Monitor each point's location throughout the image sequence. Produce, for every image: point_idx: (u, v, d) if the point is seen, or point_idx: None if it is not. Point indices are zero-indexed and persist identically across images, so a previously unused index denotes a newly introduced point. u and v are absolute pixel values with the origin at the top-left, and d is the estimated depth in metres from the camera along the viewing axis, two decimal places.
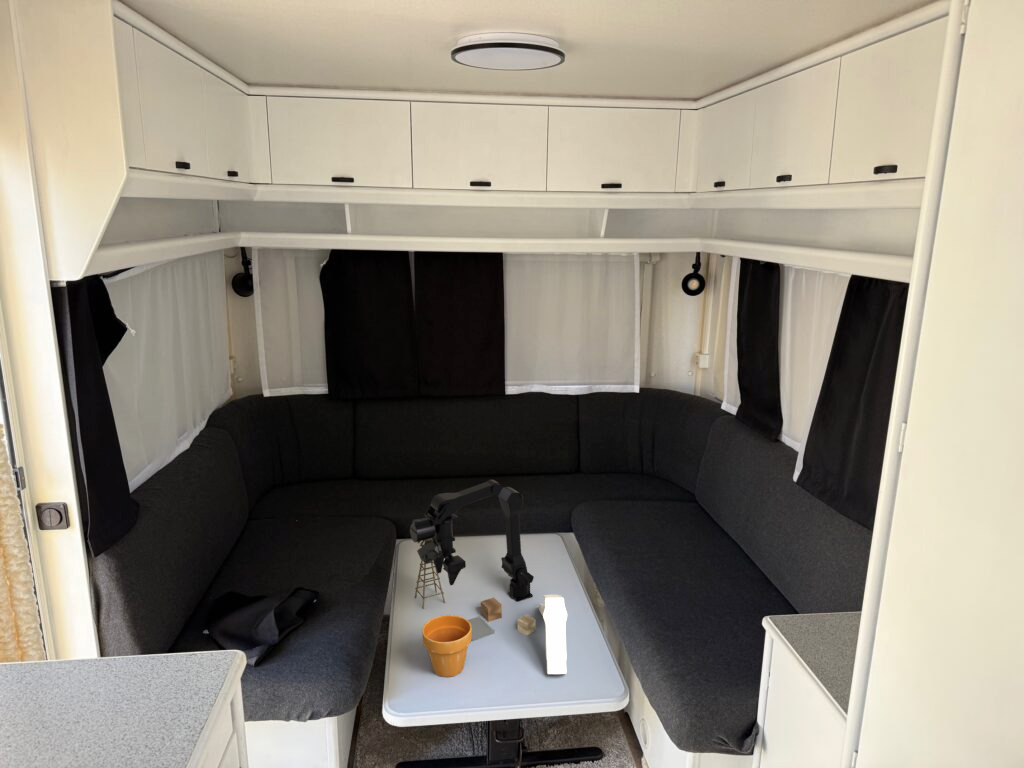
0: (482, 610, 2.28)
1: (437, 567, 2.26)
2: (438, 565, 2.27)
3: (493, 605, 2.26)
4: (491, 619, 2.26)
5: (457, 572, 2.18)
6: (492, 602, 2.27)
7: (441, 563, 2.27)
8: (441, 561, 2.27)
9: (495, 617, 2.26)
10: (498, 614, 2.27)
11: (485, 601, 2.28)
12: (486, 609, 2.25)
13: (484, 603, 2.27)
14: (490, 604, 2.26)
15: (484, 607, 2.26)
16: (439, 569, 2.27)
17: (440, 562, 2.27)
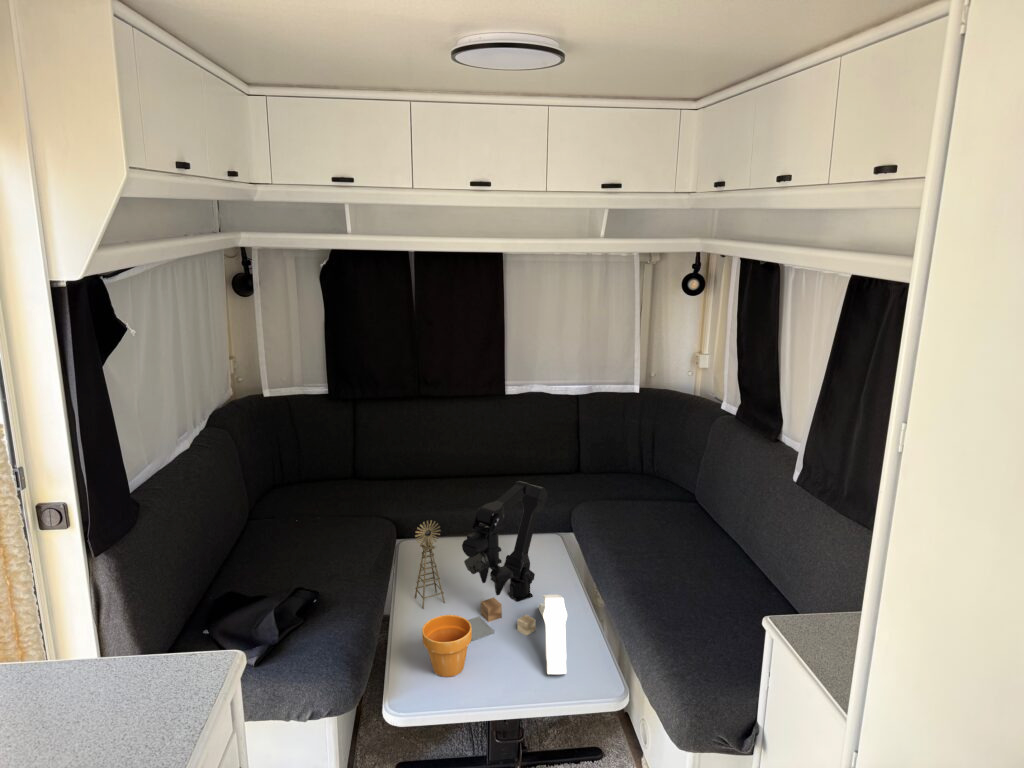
0: (482, 610, 2.28)
1: (482, 577, 2.29)
2: (483, 575, 2.30)
3: (493, 605, 2.26)
4: (491, 619, 2.26)
5: (504, 582, 2.21)
6: (492, 602, 2.27)
7: (486, 573, 2.30)
8: (486, 571, 2.30)
9: (495, 617, 2.26)
10: (498, 614, 2.27)
11: (485, 601, 2.28)
12: (486, 609, 2.25)
13: (484, 603, 2.27)
14: (490, 604, 2.26)
15: (484, 607, 2.26)
16: (484, 579, 2.30)
17: (485, 572, 2.30)
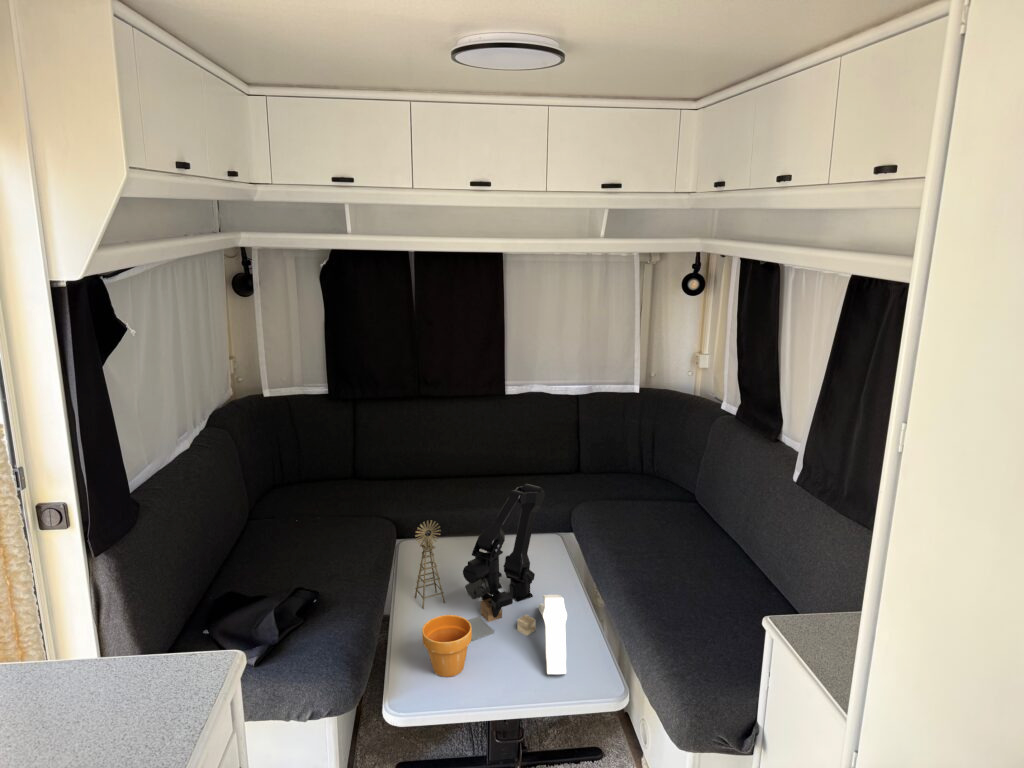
0: (482, 610, 2.28)
1: None
2: None
3: None
4: (491, 618, 2.25)
5: None
6: None
7: None
8: None
9: (495, 617, 2.26)
10: (498, 614, 2.27)
11: (485, 601, 2.28)
12: (486, 609, 2.25)
13: (484, 603, 2.27)
14: (490, 604, 2.26)
15: (484, 607, 2.26)
16: None
17: None
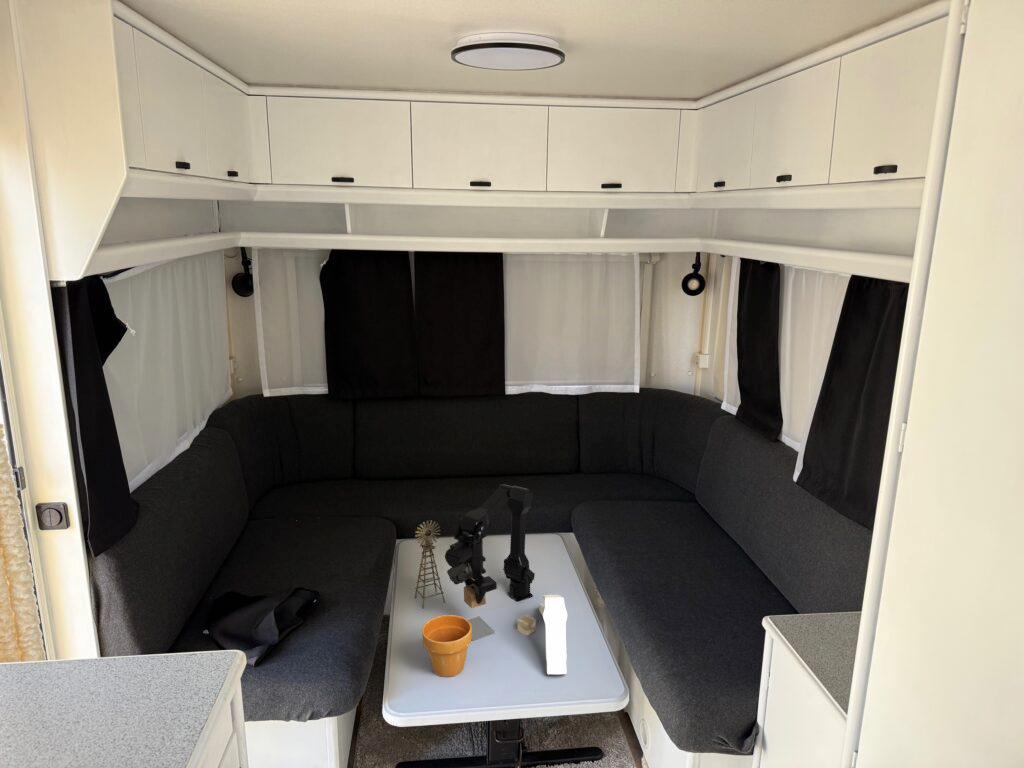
0: (465, 596, 2.18)
1: None
2: None
3: None
4: (474, 605, 2.16)
5: None
6: None
7: None
8: None
9: None
10: (482, 600, 2.17)
11: (468, 586, 2.19)
12: (469, 594, 2.16)
13: (467, 588, 2.18)
14: None
15: (467, 592, 2.17)
16: None
17: None
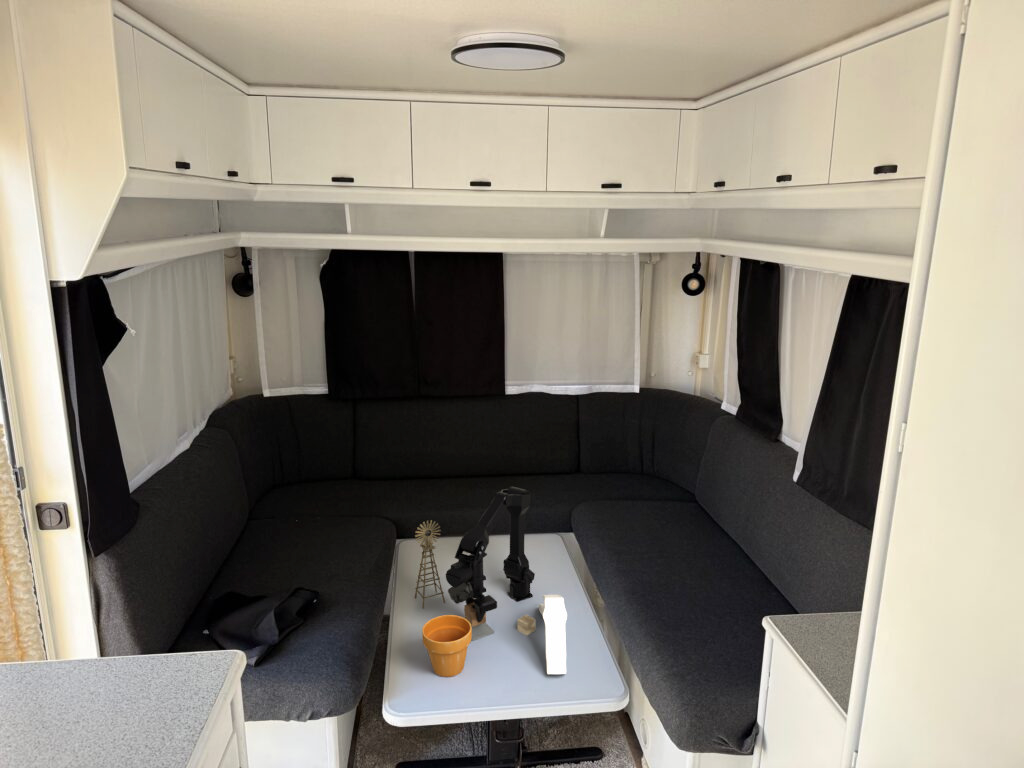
0: (466, 614, 2.20)
1: None
2: None
3: None
4: (475, 623, 2.17)
5: None
6: None
7: None
8: None
9: None
10: (482, 619, 2.19)
11: (469, 605, 2.20)
12: (470, 613, 2.17)
13: (467, 607, 2.19)
14: None
15: (468, 611, 2.18)
16: None
17: None
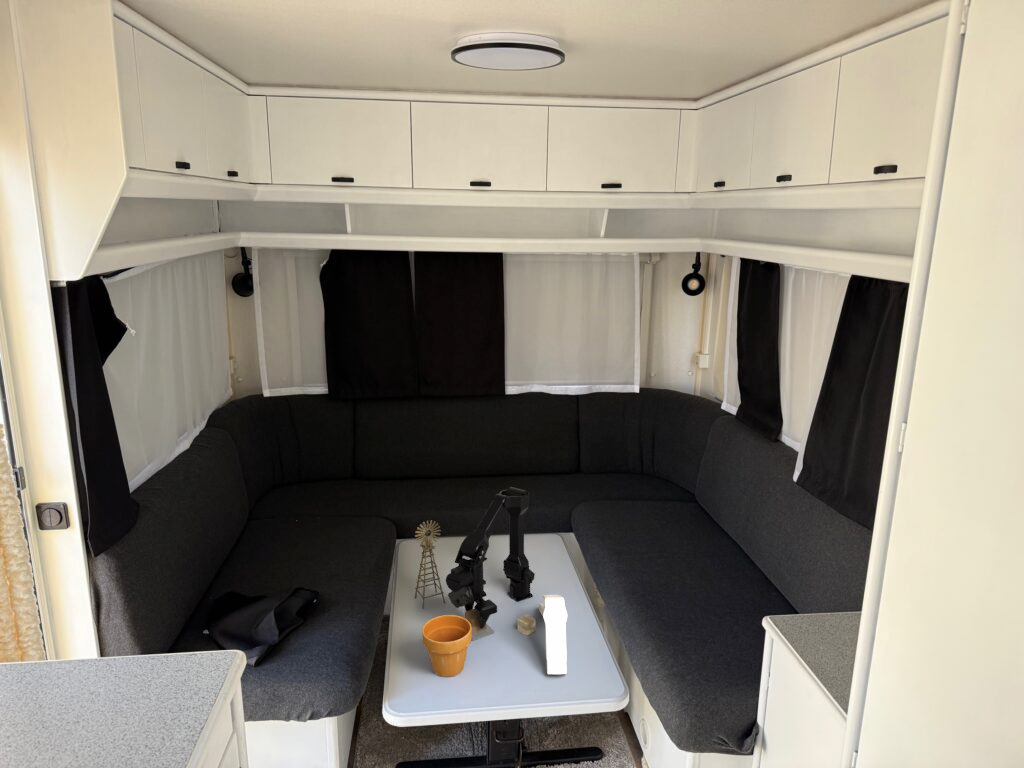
0: None
1: None
2: (468, 608, 2.23)
3: None
4: (475, 630, 2.18)
5: (487, 616, 2.16)
6: None
7: (471, 606, 2.24)
8: (471, 604, 2.24)
9: (479, 628, 2.19)
10: None
11: (469, 611, 2.21)
12: (470, 620, 2.18)
13: (468, 613, 2.19)
14: (474, 615, 2.19)
15: (468, 617, 2.19)
16: None
17: (470, 605, 2.24)
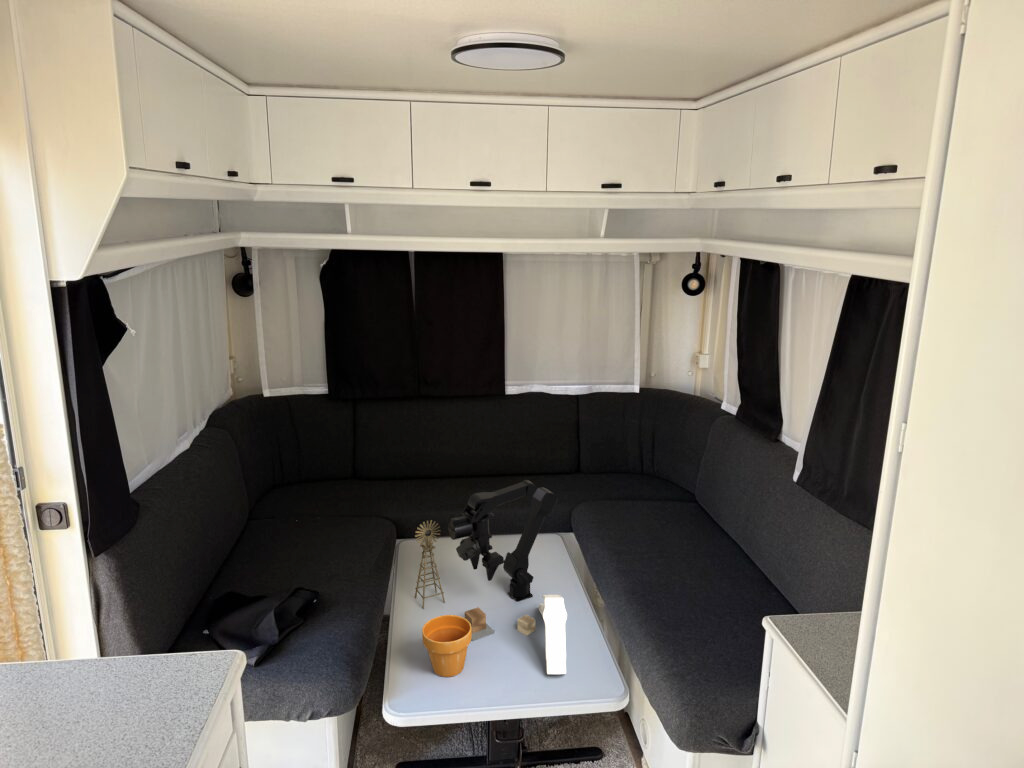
0: None
1: (473, 564, 2.34)
2: (474, 562, 2.35)
3: (477, 615, 2.18)
4: (475, 630, 2.18)
5: (495, 568, 2.26)
6: (476, 612, 2.20)
7: (477, 560, 2.35)
8: (477, 558, 2.35)
9: (479, 628, 2.19)
10: (482, 625, 2.19)
11: (469, 611, 2.21)
12: (470, 620, 2.18)
13: (468, 613, 2.19)
14: (474, 615, 2.19)
15: (468, 617, 2.19)
16: (475, 566, 2.35)
17: (476, 559, 2.35)
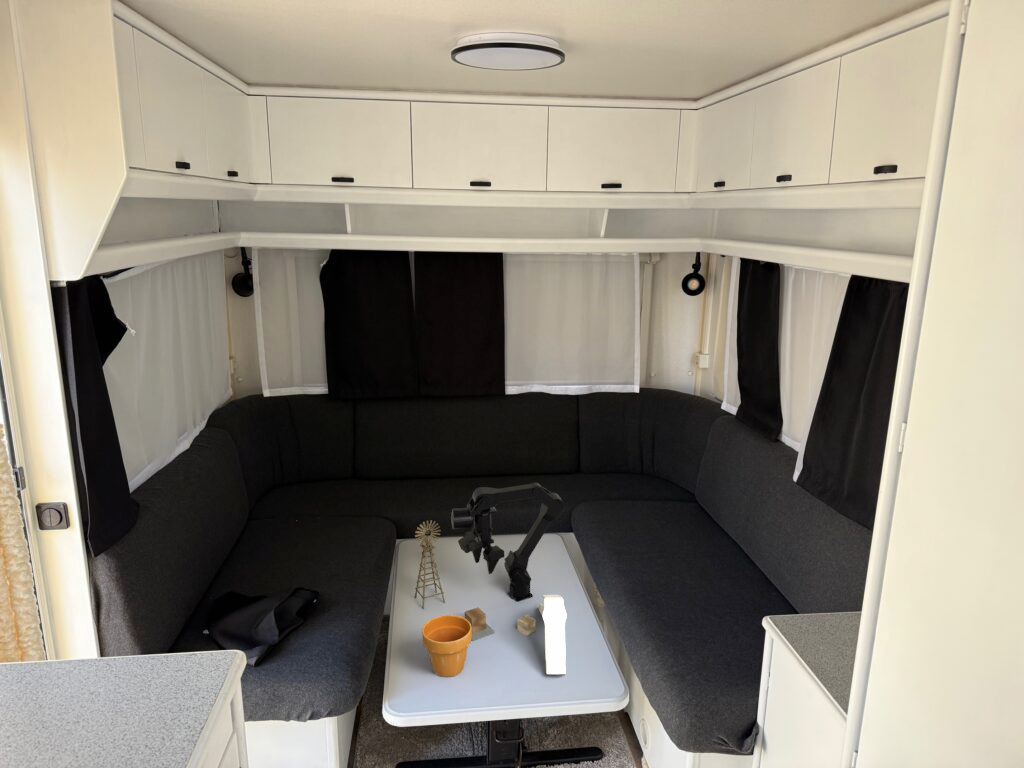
0: None
1: (475, 557, 2.39)
2: (476, 555, 2.39)
3: (477, 615, 2.18)
4: (475, 630, 2.18)
5: (496, 561, 2.30)
6: (476, 612, 2.20)
7: (479, 553, 2.39)
8: (479, 551, 2.39)
9: (479, 628, 2.19)
10: (482, 625, 2.19)
11: (469, 611, 2.21)
12: (470, 620, 2.18)
13: (468, 613, 2.19)
14: (474, 615, 2.19)
15: (468, 617, 2.19)
16: (477, 559, 2.39)
17: (478, 552, 2.39)
